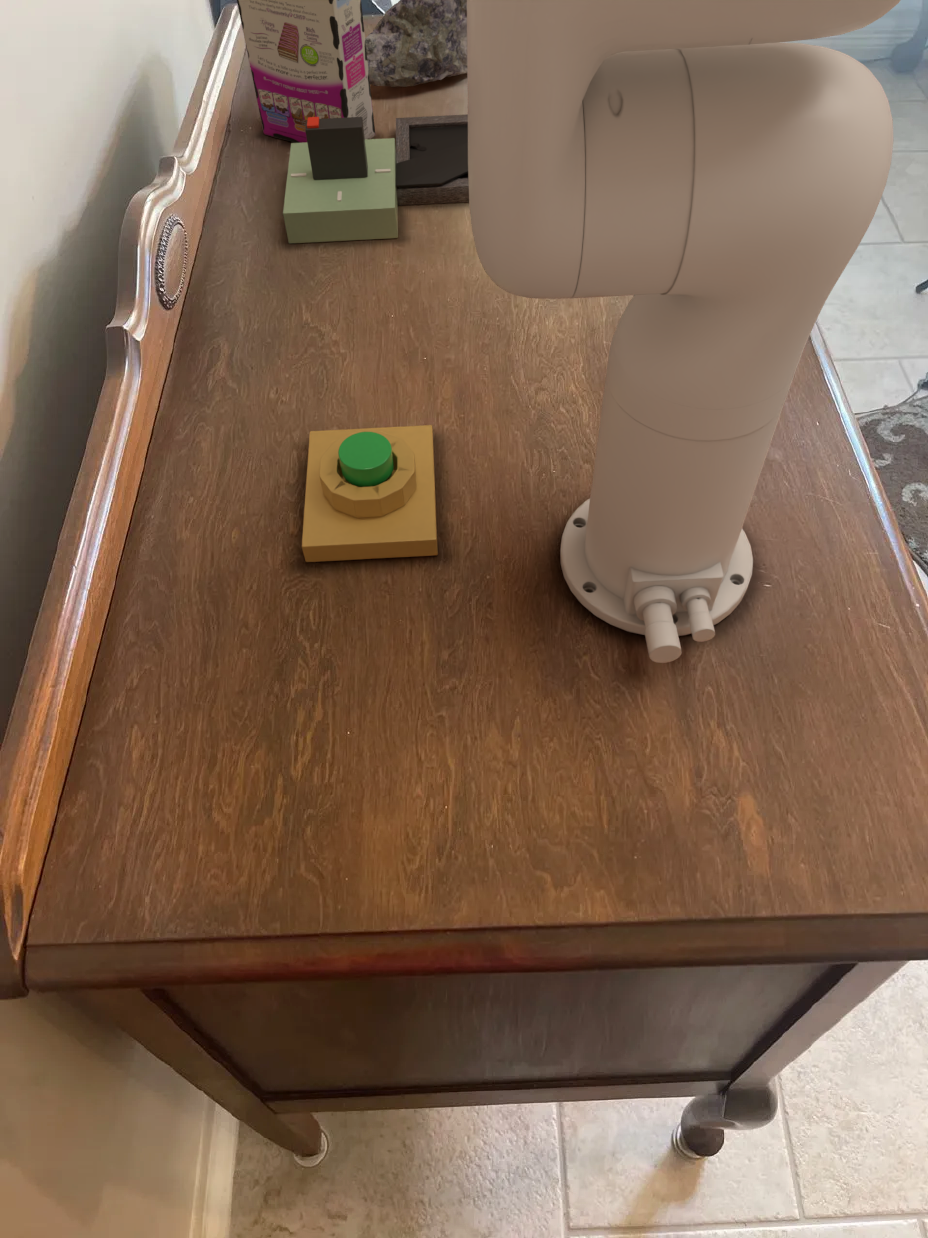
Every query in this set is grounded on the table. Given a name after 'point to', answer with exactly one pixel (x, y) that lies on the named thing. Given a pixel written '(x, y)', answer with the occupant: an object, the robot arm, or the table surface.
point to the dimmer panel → (342, 198)
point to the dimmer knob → (336, 147)
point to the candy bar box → (307, 63)
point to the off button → (366, 459)
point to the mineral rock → (418, 43)
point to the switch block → (371, 500)
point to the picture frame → (432, 159)
